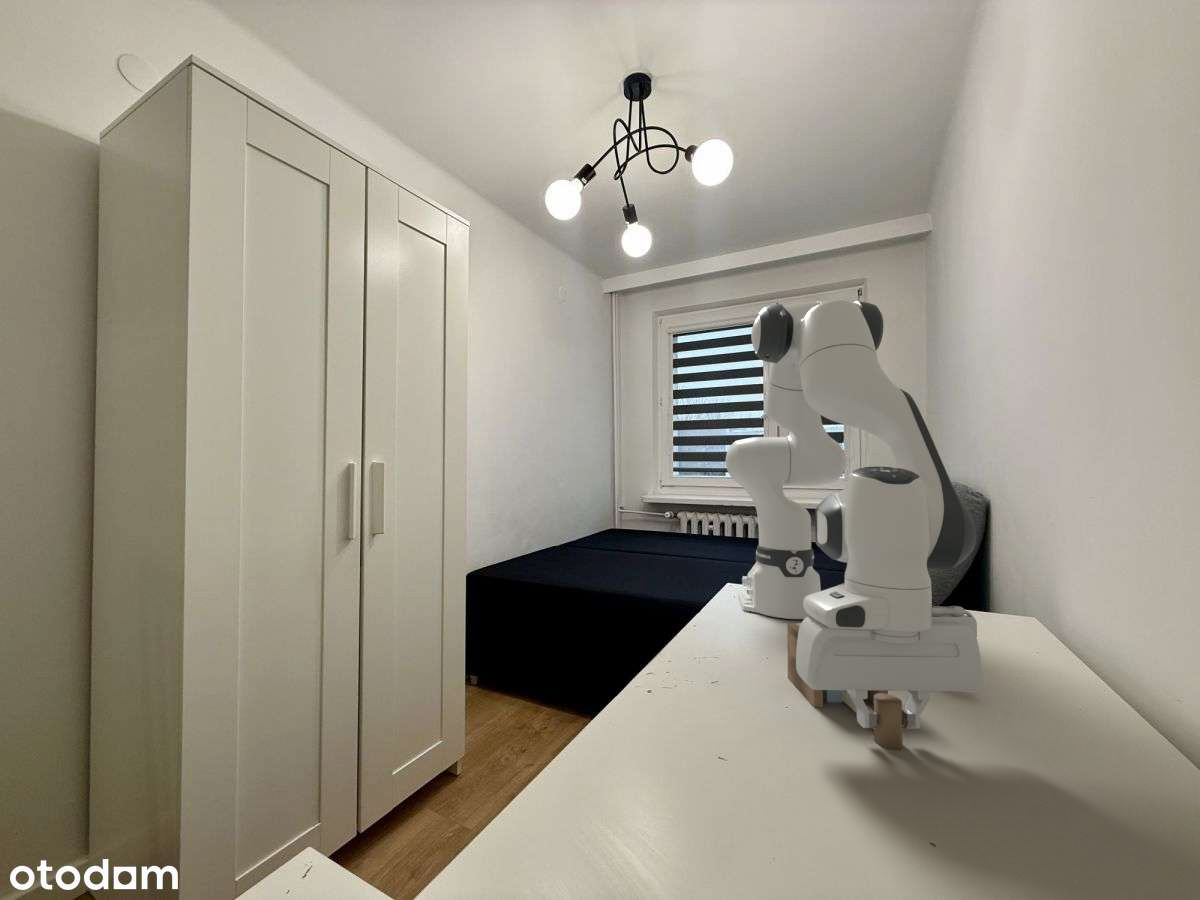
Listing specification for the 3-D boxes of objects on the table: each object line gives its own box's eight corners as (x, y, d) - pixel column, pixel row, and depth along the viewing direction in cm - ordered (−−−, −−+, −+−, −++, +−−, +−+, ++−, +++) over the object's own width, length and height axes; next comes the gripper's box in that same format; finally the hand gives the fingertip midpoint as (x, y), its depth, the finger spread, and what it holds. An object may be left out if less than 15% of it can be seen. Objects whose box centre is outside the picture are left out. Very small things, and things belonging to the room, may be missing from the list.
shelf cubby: (787, 677, 75) (787, 623, 75) (852, 678, 75) (852, 623, 75) (813, 706, 66) (813, 644, 66) (888, 707, 66) (887, 645, 66)
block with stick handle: (811, 686, 72) (811, 651, 73) (845, 686, 72) (845, 651, 73) (873, 749, 56) (872, 704, 56) (917, 749, 56) (916, 704, 56)
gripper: (955, 599, 61) (957, 713, 61) (790, 597, 61) (790, 711, 61) (996, 614, 55) (999, 741, 54) (812, 612, 55) (813, 739, 54)
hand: (887, 725), depth 57 cm, fingers open, 3 cm apart
